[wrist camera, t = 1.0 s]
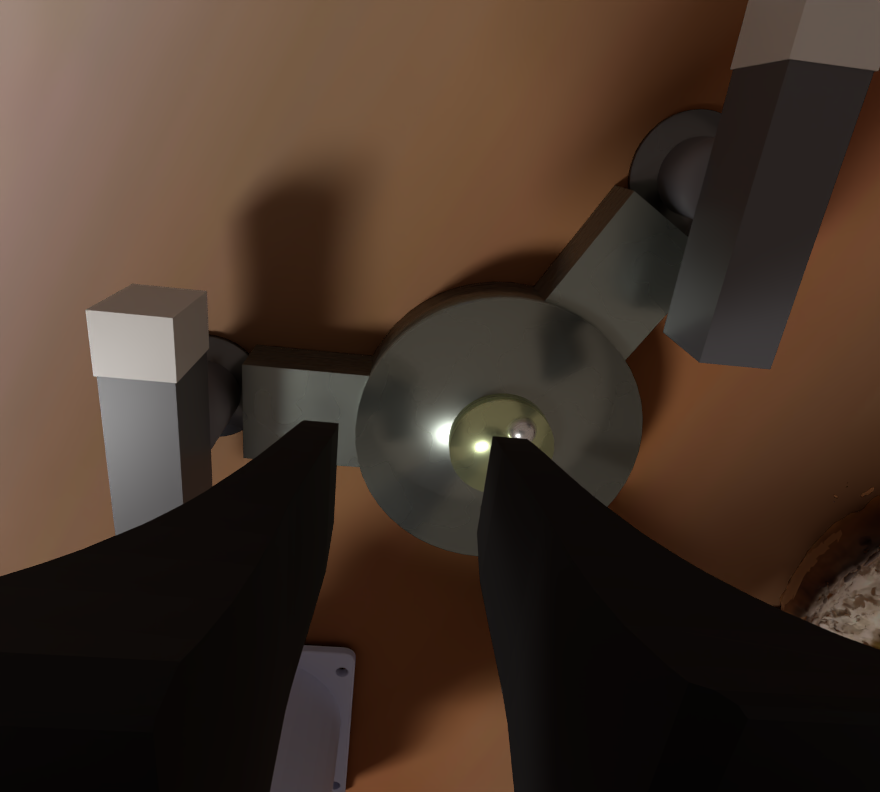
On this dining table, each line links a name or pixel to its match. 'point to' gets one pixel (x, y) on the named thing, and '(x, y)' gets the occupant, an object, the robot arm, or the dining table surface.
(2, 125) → the dining table surface
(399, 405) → the levelling base
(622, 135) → the dining table surface
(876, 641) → the cream topped cake
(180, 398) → the post
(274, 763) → the robot arm
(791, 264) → the two-tone rectangular bar
